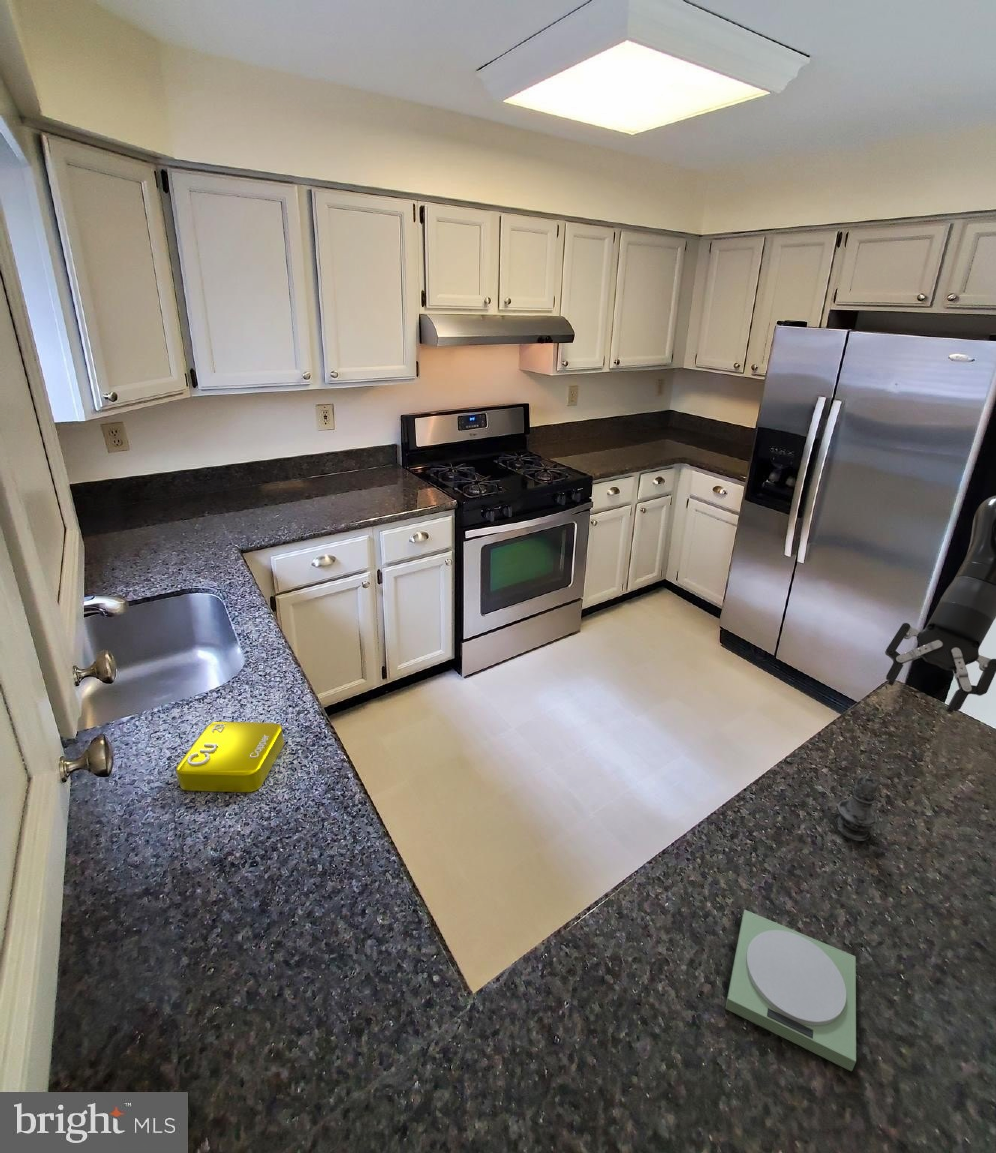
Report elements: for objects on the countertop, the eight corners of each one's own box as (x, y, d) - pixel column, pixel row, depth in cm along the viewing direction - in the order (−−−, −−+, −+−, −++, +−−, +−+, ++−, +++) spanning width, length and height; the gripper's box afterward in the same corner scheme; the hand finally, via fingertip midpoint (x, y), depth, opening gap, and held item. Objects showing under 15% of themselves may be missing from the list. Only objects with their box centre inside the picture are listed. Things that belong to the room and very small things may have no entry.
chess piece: (875, 846, 98) (896, 790, 93) (836, 836, 100) (854, 781, 95) (868, 820, 103) (886, 765, 99) (830, 811, 105) (847, 757, 100)
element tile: (258, 794, 107) (254, 773, 105) (175, 791, 107) (170, 770, 105) (287, 739, 121) (284, 720, 119) (214, 737, 121) (210, 718, 119)
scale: (852, 966, 80) (857, 952, 79) (851, 1072, 69) (858, 1057, 67) (741, 918, 86) (745, 905, 85) (725, 1008, 75) (728, 994, 74)
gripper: (920, 586, 98) (873, 673, 97) (1025, 625, 90) (974, 719, 90) (914, 597, 104) (870, 679, 104) (1012, 635, 96) (965, 722, 96)
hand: (918, 697), depth 97 cm, fingers open, 8 cm apart
